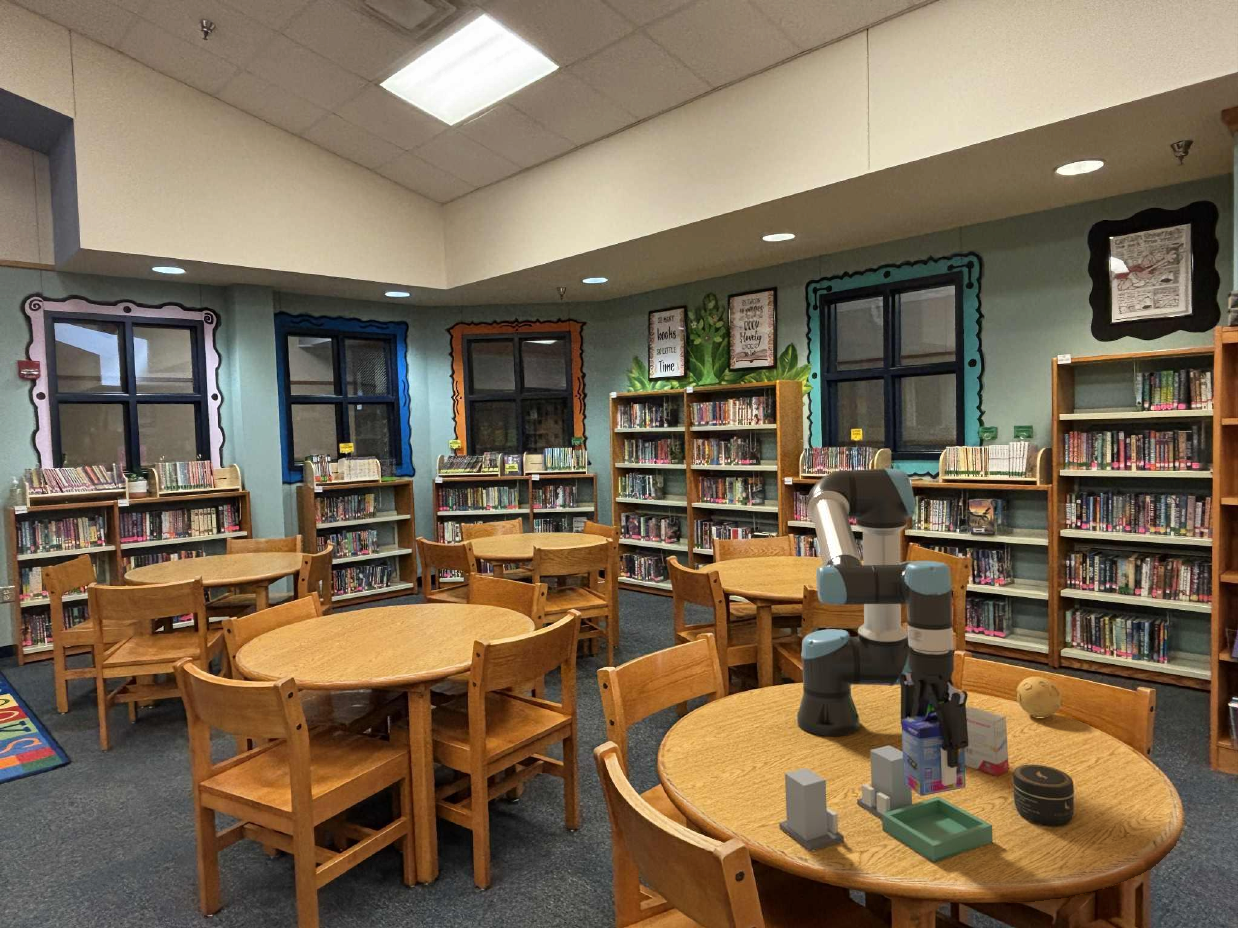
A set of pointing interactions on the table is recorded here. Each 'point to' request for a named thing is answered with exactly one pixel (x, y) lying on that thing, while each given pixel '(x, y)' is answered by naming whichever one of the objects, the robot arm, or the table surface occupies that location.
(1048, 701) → the stress ball
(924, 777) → the ink cartridge box
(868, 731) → the table surface
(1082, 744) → the table surface
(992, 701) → the table surface
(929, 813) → the tray
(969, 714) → the ink box
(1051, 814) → the jar
